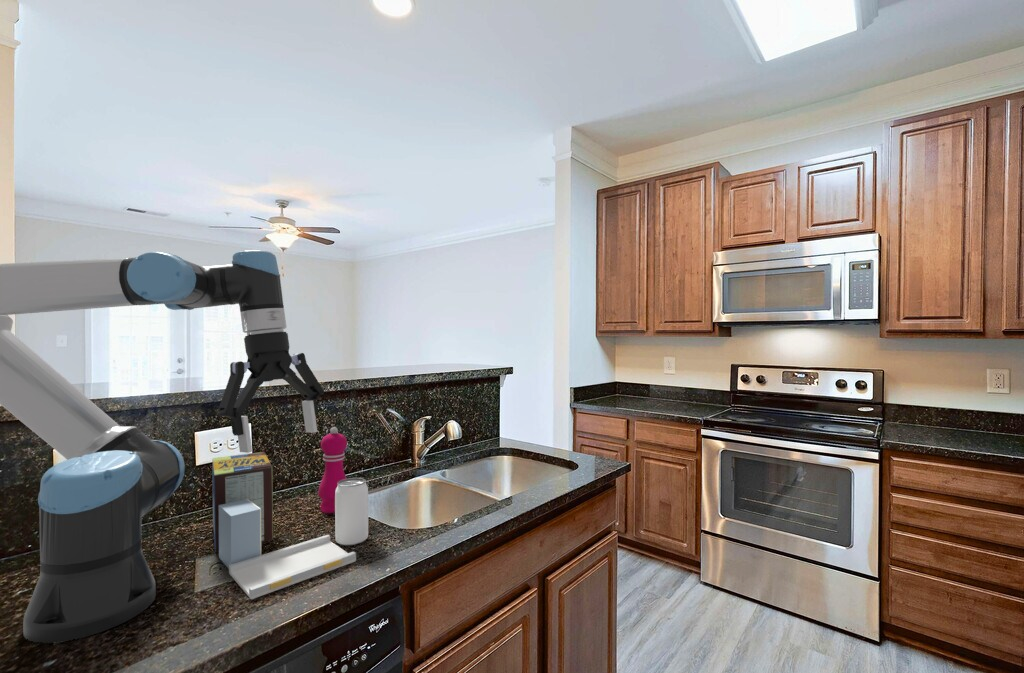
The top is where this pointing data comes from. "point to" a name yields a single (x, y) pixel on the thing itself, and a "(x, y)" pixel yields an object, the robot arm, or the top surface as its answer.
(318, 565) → the white tray
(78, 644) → the top surface
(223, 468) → the protein box
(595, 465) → the top surface
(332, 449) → the pepper mill
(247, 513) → the tea box
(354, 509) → the can
